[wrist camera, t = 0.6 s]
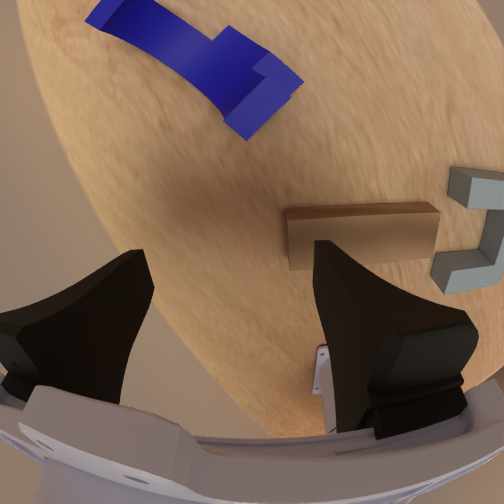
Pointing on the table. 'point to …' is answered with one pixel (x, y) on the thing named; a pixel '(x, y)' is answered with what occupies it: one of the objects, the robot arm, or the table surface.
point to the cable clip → (205, 60)
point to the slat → (363, 232)
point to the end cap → (493, 239)
